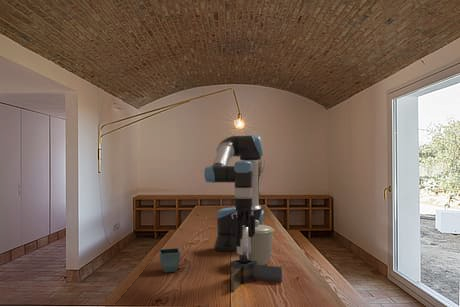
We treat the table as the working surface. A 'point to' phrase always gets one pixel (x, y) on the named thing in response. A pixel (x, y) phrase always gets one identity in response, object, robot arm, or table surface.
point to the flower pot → (169, 259)
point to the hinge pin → (245, 245)
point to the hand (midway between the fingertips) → (243, 252)
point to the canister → (261, 244)
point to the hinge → (253, 273)
